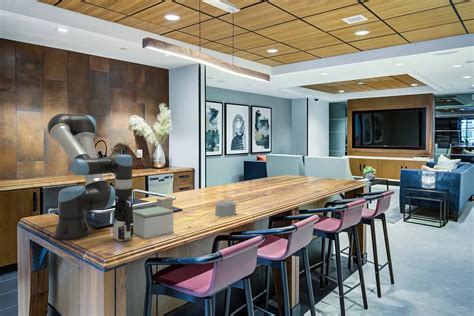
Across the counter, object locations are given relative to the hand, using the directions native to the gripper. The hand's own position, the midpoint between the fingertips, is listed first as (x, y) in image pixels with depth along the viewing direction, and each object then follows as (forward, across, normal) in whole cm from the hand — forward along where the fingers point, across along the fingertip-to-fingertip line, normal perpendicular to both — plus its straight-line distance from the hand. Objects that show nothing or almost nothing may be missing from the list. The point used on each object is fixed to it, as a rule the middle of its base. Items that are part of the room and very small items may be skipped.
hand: (123, 235), depth 160 cm
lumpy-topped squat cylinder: (+2, +8, -70) cm, 70 cm away
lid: (-8, +2, -16) cm, 18 cm away
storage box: (+2, +2, -16) cm, 16 cm away
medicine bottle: (+1, 0, 0) cm, 1 cm away
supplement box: (+2, +20, -34) cm, 39 cm away
